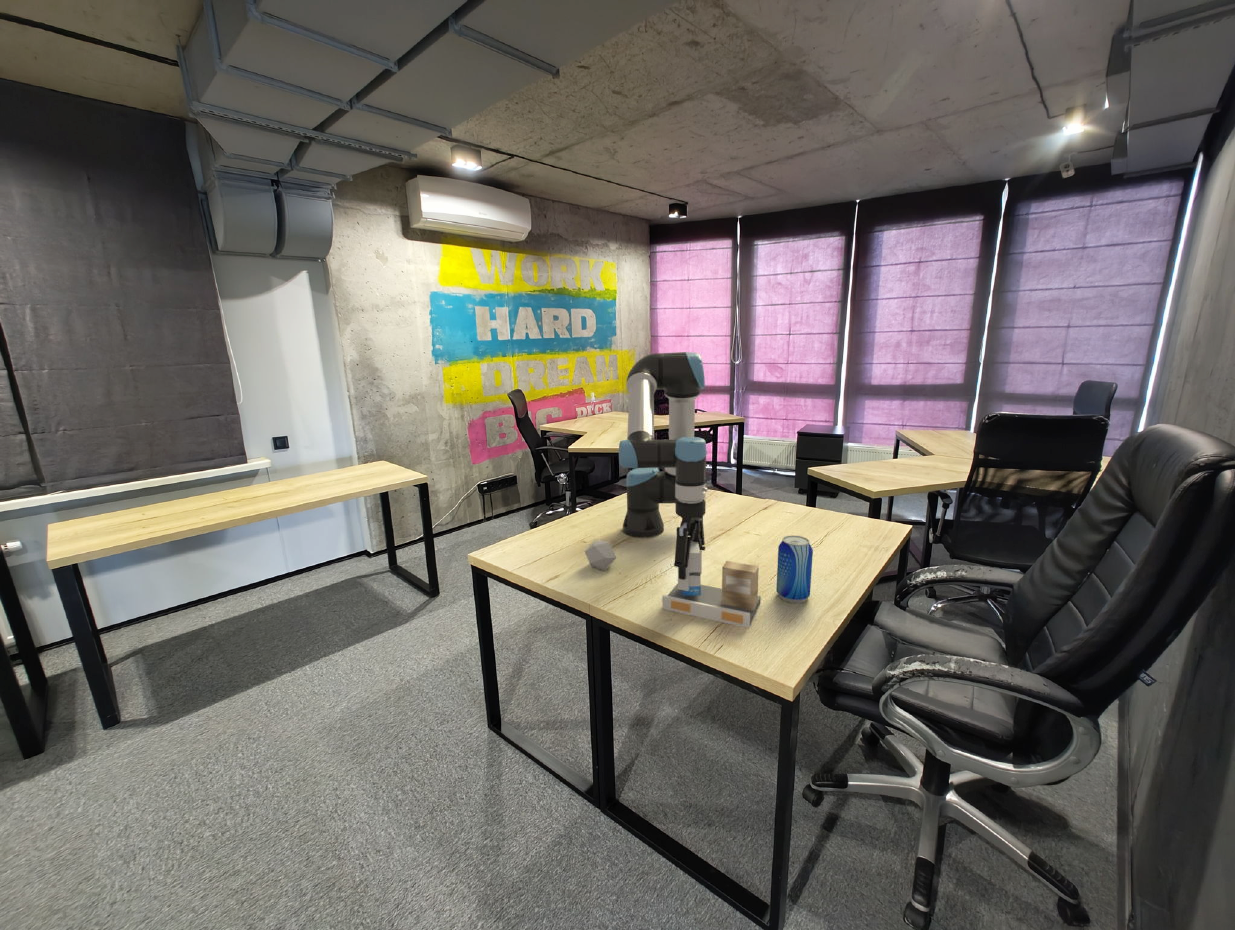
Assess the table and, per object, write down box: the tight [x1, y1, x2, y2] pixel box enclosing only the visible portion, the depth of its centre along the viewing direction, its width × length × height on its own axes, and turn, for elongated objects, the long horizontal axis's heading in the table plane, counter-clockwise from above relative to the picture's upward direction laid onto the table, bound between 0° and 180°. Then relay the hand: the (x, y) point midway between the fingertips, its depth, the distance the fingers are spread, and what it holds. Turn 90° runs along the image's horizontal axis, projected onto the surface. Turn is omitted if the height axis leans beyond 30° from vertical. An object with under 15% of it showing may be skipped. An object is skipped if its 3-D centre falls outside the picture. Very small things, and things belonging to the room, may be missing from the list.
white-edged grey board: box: [661, 583, 762, 629], centre depth 127 cm, size 22×13×4 cm, turn 63°
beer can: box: [775, 534, 814, 604], centre depth 129 cm, size 8×8×16 cm
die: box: [584, 538, 617, 571], centre depth 152 cm, size 8×9×10 cm
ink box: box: [682, 541, 702, 596], centre depth 128 cm, size 9×5×12 cm, turn 174°
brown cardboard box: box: [721, 560, 760, 611], centre depth 123 cm, size 8×4×10 cm, turn 63°
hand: (690, 581), depth 129 cm, fingers closed on ink box, 9 cm apart
